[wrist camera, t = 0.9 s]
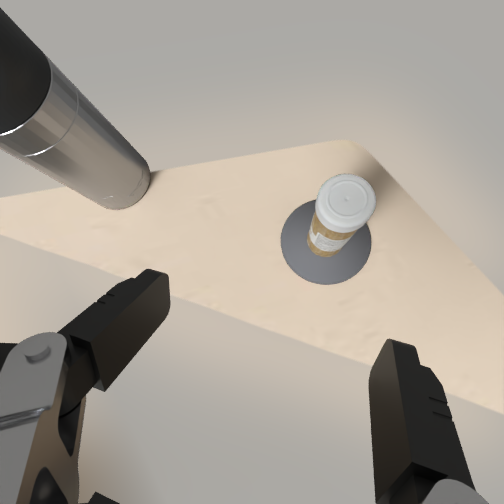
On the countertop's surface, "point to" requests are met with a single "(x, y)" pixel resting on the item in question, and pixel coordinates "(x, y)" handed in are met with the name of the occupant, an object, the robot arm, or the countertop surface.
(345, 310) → the countertop surface
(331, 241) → the sprinkles bottle
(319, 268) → the coaster
